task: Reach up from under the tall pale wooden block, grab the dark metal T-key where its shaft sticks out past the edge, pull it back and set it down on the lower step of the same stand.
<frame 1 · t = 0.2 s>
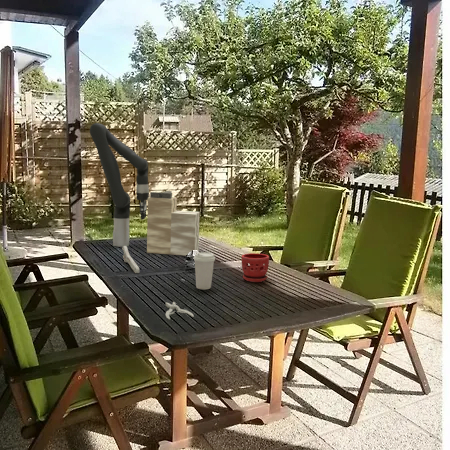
hand: (143, 218, 285), 17 cm above the table, tool pointing down, fingers open, 8 cm apart
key: (164, 196, 275), point 32 cm above the table, touching step stand
plant pot: (254, 280, 223), on the table
coffee cup: (203, 287, 208), on the table
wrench: (130, 267, 239), on the table
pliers: (175, 312, 176), on the table
step stand: (161, 251, 276), on the table
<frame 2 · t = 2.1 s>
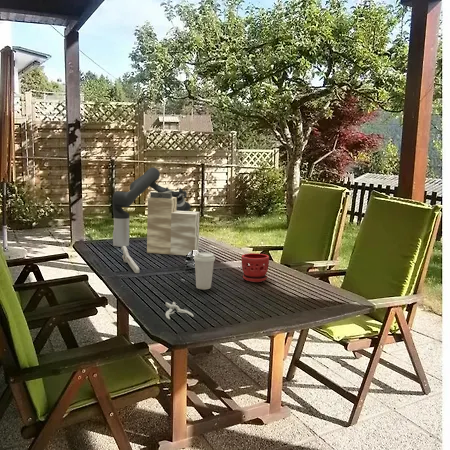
hand: (173, 188, 295), 35 cm above the table, tool pointing upward, fingers open, 8 cm apart
nothing on the table moved.
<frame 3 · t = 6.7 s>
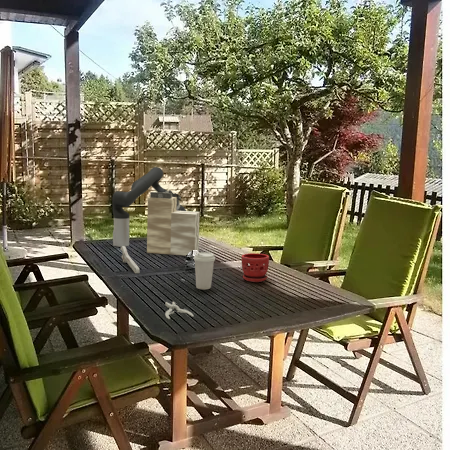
hand: (167, 191, 280), 35 cm above the table, tool pointing upward, fingers closed on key, 2 cm apart
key: (164, 196, 275), point 32 cm above the table, touching gripper, step stand
everything else where it was.
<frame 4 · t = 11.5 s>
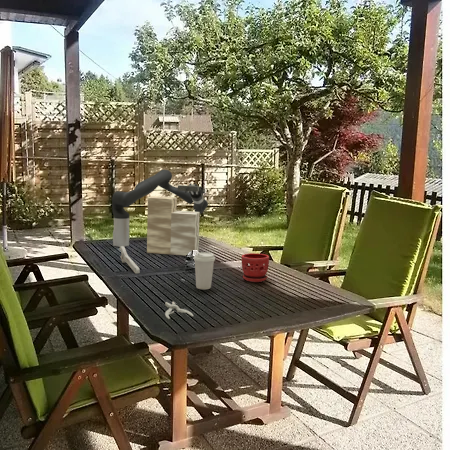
hand: (192, 184, 288), 39 cm above the table, tool pointing upward, fingers closed on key, 2 cm apart
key: (190, 189, 283), point 36 cm above the table, touching gripper
everything else where it was.
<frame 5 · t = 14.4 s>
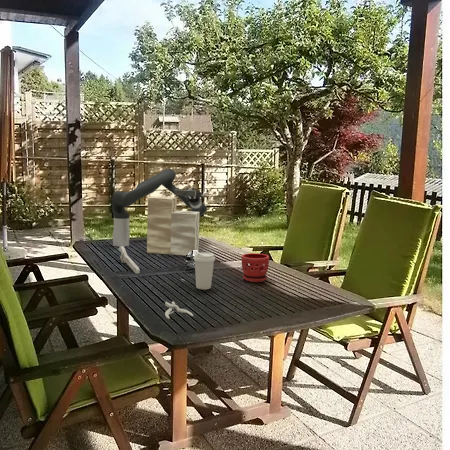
hand: (190, 188, 278), 37 cm above the table, tool pointing upward, fingers closed on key, 2 cm apart
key: (188, 194, 273), point 34 cm above the table, touching gripper
when the fingers open (28 cm above the table, at t = 16.6 s): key stays where it is, resting on step stand.
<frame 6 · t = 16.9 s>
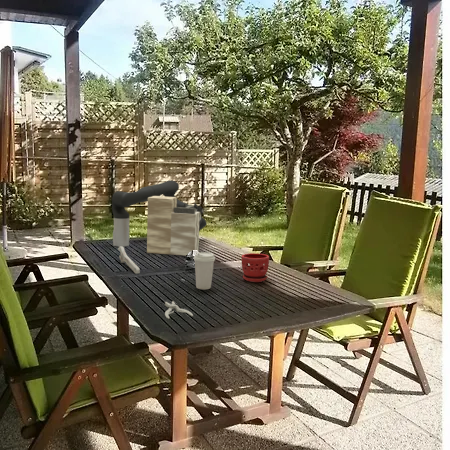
hand: (189, 204, 280), 28 cm above the table, tool pointing upward, fingers open, 5 cm apart
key: (187, 211, 275), point 24 cm above the table, touching step stand
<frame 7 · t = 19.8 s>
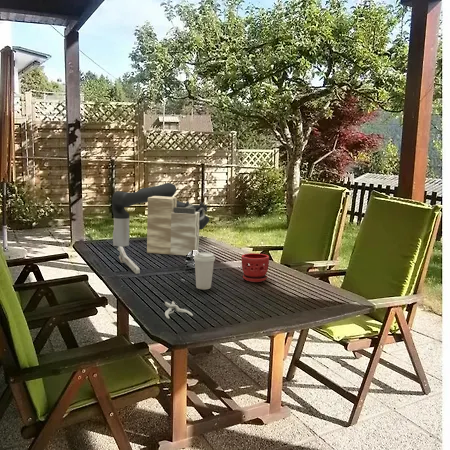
hand: (194, 202, 291), 27 cm above the table, tool pointing upward, fingers open, 8 cm apart
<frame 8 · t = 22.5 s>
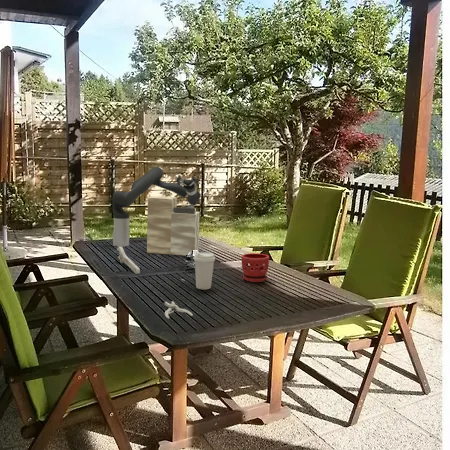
hand: (185, 176, 296), 43 cm above the table, tool pointing upward, fingers open, 8 cm apart
at the end: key inside the target area on the step stand (0.3 cm from its centre), point 24.0 cm above the step stand's base; the gripper is holding nothing; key tilted 0° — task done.
